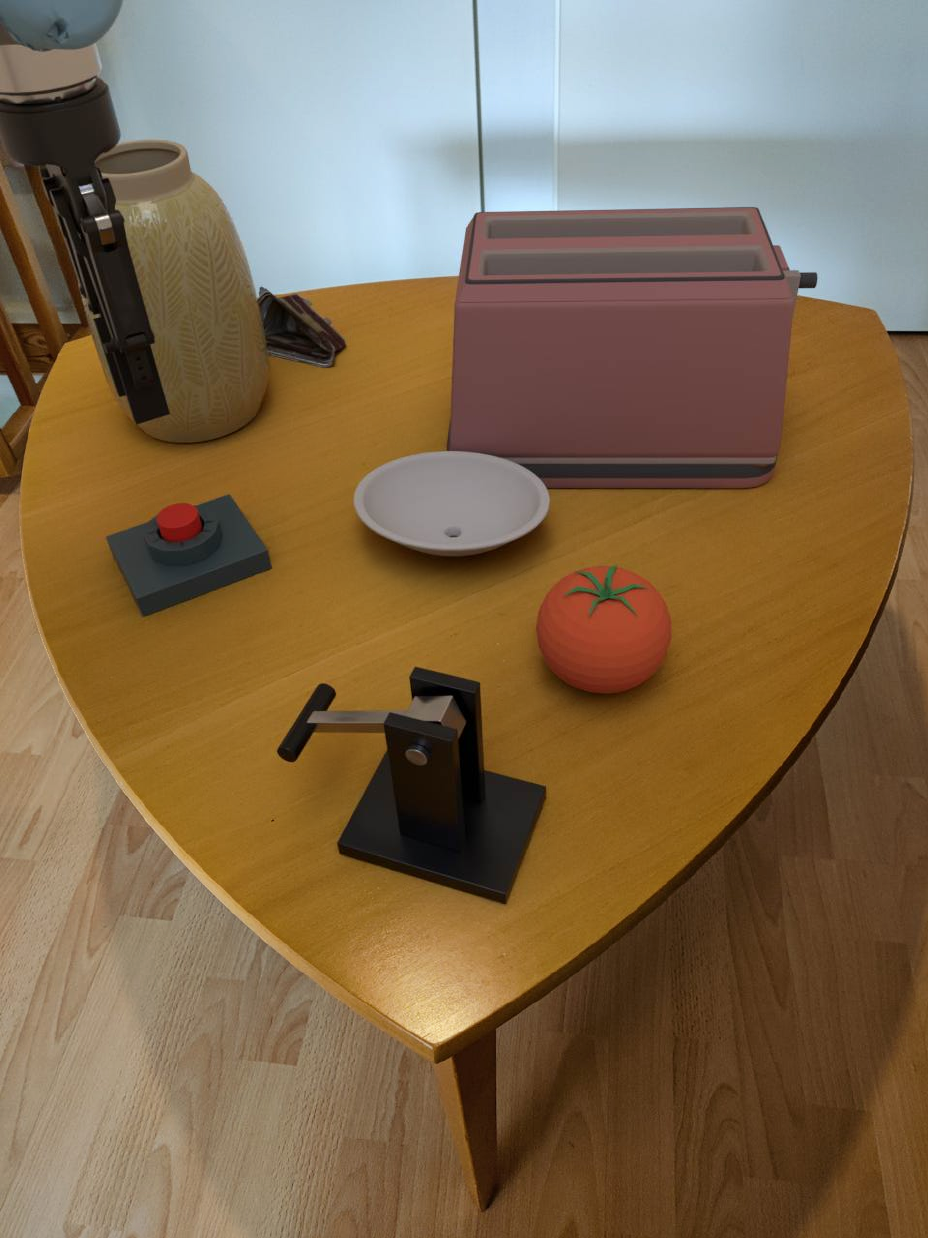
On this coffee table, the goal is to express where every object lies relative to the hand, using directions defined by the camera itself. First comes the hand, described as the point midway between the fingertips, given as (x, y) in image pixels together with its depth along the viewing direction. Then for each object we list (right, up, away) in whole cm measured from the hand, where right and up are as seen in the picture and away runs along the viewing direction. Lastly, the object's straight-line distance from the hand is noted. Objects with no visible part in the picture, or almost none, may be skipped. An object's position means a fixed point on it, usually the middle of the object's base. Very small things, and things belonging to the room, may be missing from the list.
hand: (143, 402), depth 80 cm
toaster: (+41, +1, +23) cm, 48 cm away
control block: (+1, -12, +11) cm, 17 cm away
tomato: (+37, -22, -1) cm, 43 cm away
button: (+1, -9, +9) cm, 13 cm away
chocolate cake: (+7, +16, +41) cm, 44 cm away
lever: (+20, -25, -15) cm, 36 cm away
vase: (-3, +6, +31) cm, 31 cm away
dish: (+25, -10, +12) cm, 29 cm away
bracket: (+24, -32, -11) cm, 41 cm away
